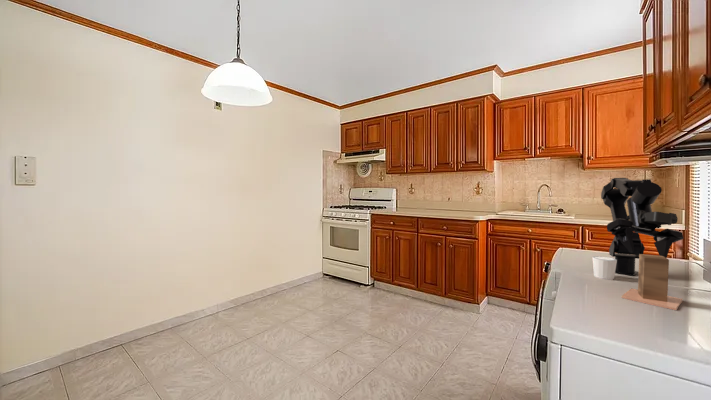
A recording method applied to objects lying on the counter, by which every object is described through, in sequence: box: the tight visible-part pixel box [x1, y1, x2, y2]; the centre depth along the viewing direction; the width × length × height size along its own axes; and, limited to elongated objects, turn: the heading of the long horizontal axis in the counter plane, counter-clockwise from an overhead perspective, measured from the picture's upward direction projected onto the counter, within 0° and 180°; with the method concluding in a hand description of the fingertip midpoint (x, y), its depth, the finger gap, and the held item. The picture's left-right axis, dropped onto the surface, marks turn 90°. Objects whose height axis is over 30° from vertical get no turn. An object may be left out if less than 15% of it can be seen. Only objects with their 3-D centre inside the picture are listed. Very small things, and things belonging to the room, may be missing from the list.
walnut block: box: [637, 253, 670, 302], centre depth 85 cm, size 5×5×12 cm
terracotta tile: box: [621, 288, 684, 311], centre depth 86 cm, size 11×11×1 cm
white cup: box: [591, 255, 617, 280], centre depth 107 cm, size 7×7×7 cm
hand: (647, 255), depth 92 cm, fingers open, 9 cm apart
